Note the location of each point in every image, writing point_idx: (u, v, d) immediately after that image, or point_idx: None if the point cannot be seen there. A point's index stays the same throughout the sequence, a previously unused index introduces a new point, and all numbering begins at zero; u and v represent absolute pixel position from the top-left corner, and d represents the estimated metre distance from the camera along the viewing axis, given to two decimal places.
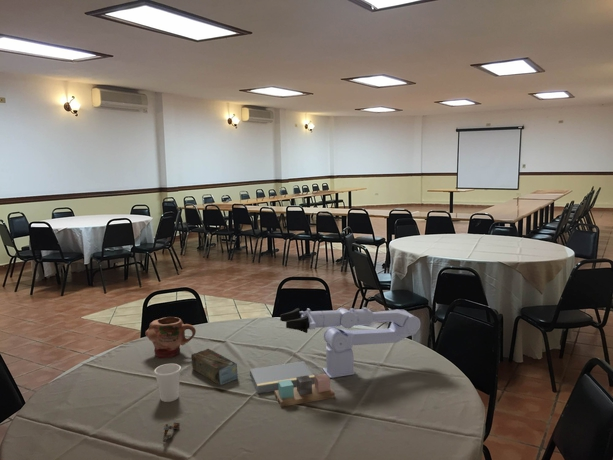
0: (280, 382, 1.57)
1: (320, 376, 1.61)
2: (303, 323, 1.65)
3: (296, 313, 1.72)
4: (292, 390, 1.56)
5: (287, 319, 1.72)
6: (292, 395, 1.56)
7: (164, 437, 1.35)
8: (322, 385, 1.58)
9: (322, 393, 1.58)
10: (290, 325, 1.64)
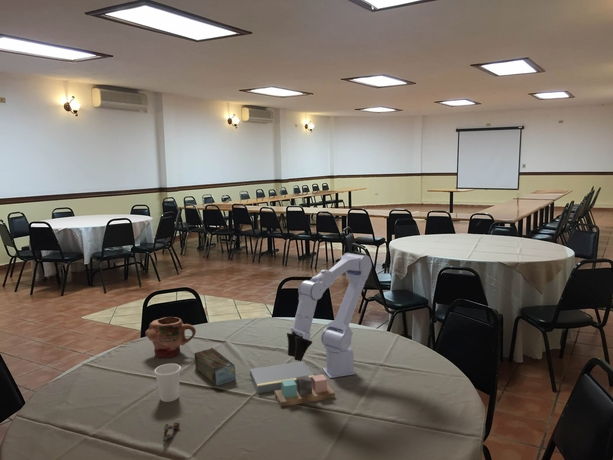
0: (283, 381, 1.58)
1: (317, 377, 1.60)
2: (301, 342, 1.56)
3: (291, 338, 1.63)
4: (295, 390, 1.56)
5: (294, 349, 1.63)
6: (295, 395, 1.56)
7: (164, 437, 1.35)
8: (319, 386, 1.58)
9: (322, 393, 1.58)
10: (299, 356, 1.55)
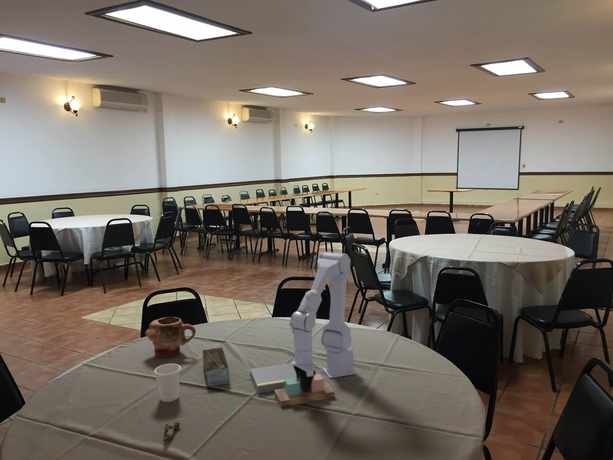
0: (286, 380, 1.58)
1: (314, 376, 1.60)
2: (305, 374, 1.55)
3: (298, 369, 1.60)
4: (298, 388, 1.56)
5: None
6: (298, 393, 1.56)
7: (164, 437, 1.35)
8: (315, 385, 1.58)
9: (322, 392, 1.58)
10: (307, 387, 1.56)
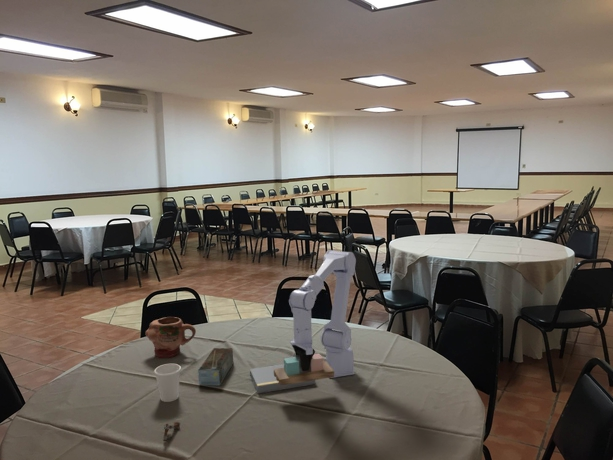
0: (286, 359, 1.57)
1: (313, 355, 1.59)
2: (304, 353, 1.54)
3: (297, 348, 1.59)
4: (298, 367, 1.55)
5: None
6: (298, 372, 1.55)
7: (164, 437, 1.35)
8: (315, 364, 1.57)
9: (321, 371, 1.57)
10: (306, 367, 1.55)
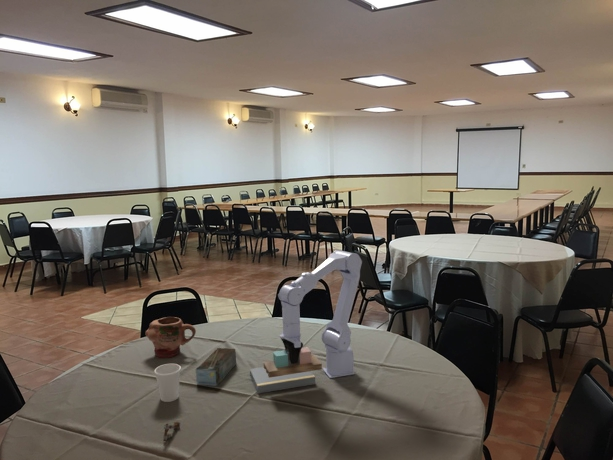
0: (275, 352, 1.63)
1: (302, 349, 1.65)
2: (293, 346, 1.60)
3: (286, 342, 1.64)
4: (287, 360, 1.61)
5: None
6: (287, 364, 1.61)
7: (164, 436, 1.35)
8: (303, 357, 1.62)
9: (309, 364, 1.62)
10: (295, 359, 1.61)
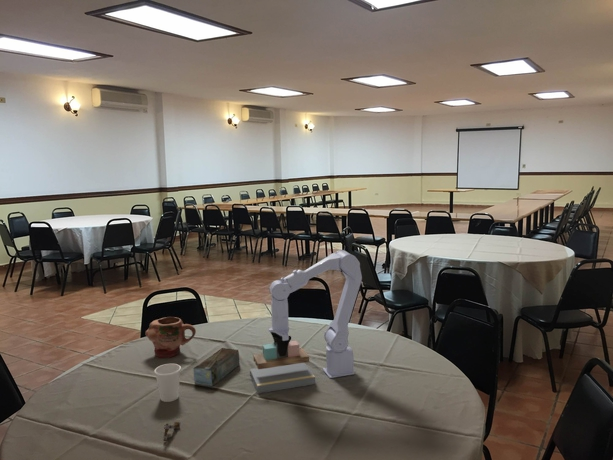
0: (264, 345, 1.69)
1: (290, 342, 1.71)
2: (281, 340, 1.66)
3: (275, 335, 1.71)
4: (275, 352, 1.67)
5: None
6: (275, 357, 1.67)
7: (164, 436, 1.35)
8: (292, 350, 1.69)
9: (297, 356, 1.69)
10: (283, 352, 1.67)
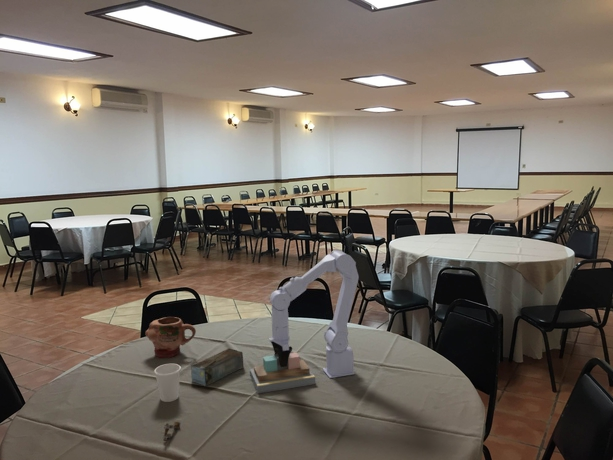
0: (265, 357, 1.70)
1: (291, 354, 1.72)
2: (282, 350, 1.66)
3: (275, 344, 1.72)
4: (276, 364, 1.68)
5: None
6: (276, 369, 1.68)
7: (164, 436, 1.35)
8: (292, 362, 1.69)
9: (298, 368, 1.69)
10: (284, 363, 1.67)
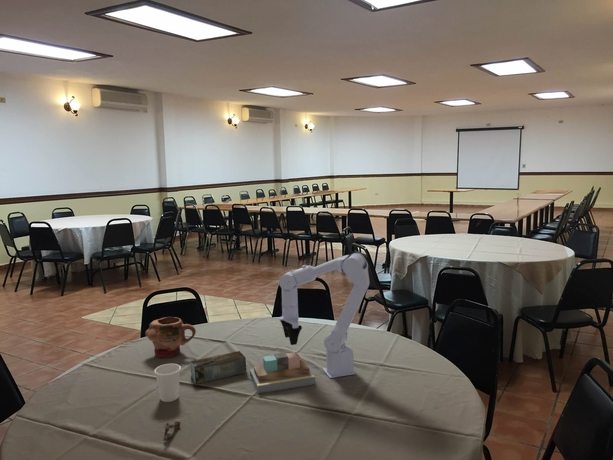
0: (265, 357, 1.70)
1: (291, 354, 1.72)
2: (293, 329, 1.75)
3: (284, 323, 1.82)
4: (276, 364, 1.68)
5: None
6: (276, 369, 1.68)
7: (165, 436, 1.35)
8: (292, 362, 1.69)
9: (298, 368, 1.69)
10: (294, 341, 1.76)
